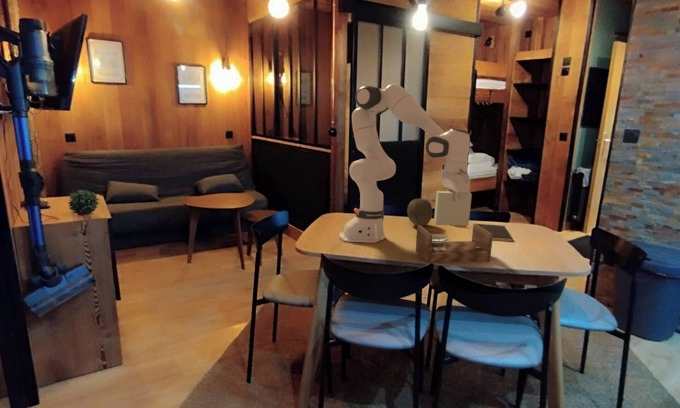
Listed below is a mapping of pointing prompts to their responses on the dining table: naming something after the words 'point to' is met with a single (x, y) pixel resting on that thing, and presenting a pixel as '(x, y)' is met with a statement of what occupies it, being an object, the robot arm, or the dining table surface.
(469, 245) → the offcut stack
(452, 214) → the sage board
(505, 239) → the hardcover book
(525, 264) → the dining table surface
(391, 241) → the dining table surface
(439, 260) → the walnut rack
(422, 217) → the cantaloupe
